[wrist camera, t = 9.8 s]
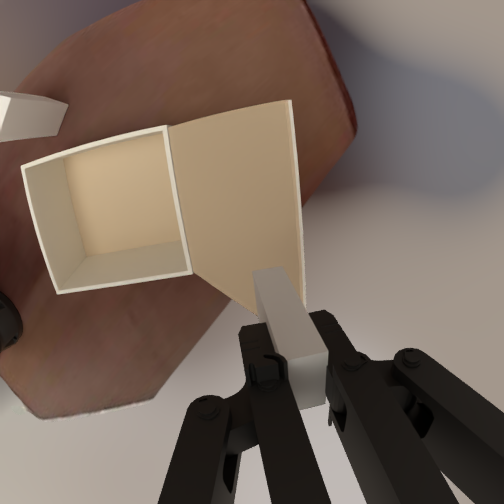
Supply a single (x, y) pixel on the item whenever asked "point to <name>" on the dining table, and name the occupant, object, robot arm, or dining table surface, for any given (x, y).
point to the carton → (109, 212)
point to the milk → (29, 116)
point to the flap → (241, 197)
